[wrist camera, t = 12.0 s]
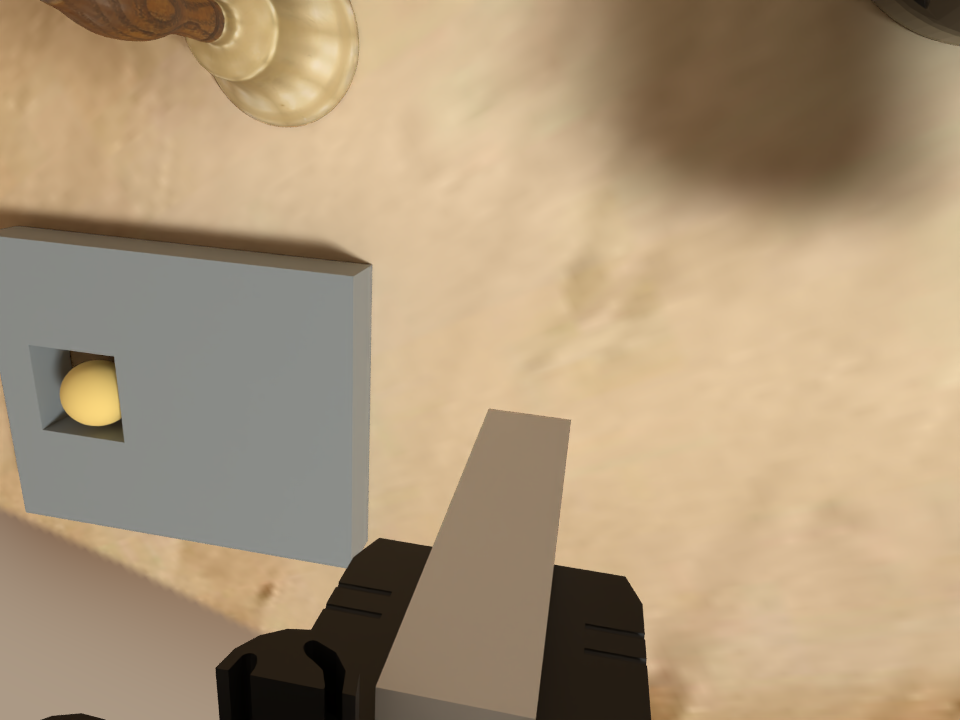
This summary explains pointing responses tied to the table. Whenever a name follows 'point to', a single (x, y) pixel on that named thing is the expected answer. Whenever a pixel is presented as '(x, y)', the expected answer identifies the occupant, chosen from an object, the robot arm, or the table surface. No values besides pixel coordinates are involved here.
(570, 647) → the robot arm
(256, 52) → the hand bell
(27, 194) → the table surface
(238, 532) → the board
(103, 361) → the ball
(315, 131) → the table surface
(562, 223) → the table surface
